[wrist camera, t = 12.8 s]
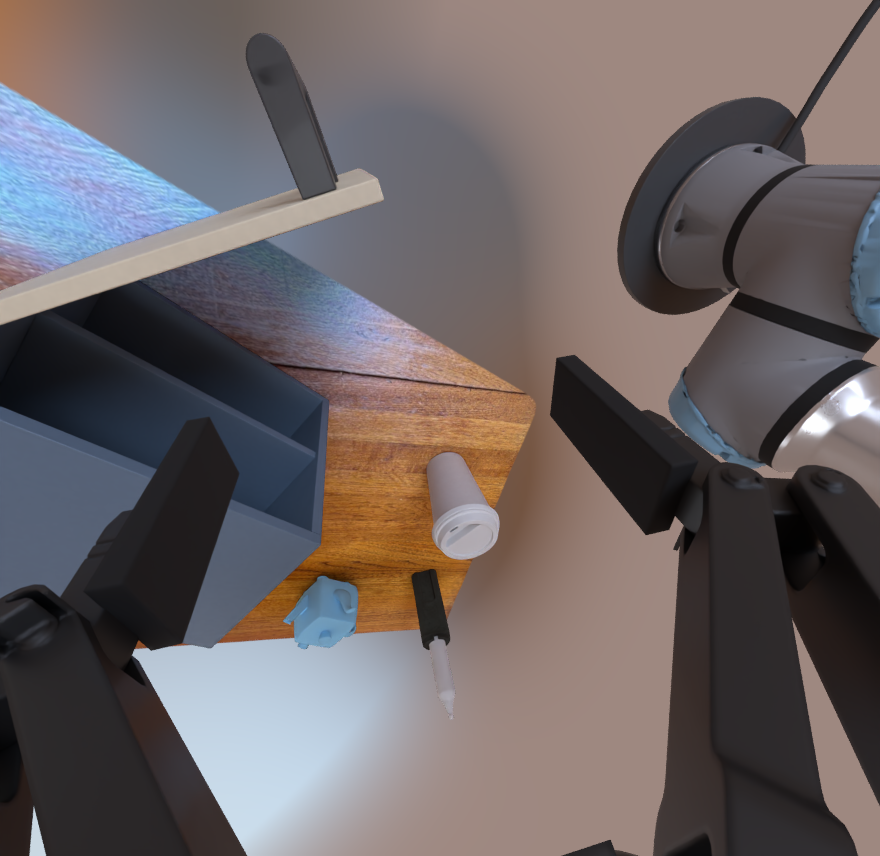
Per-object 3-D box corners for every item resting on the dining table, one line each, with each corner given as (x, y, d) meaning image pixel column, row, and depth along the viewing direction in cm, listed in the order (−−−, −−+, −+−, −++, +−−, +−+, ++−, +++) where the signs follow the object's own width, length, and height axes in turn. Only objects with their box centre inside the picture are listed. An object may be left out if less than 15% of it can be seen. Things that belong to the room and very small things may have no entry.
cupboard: (107, 260, 38) (-137, 367, 18) (329, 400, 51) (321, 544, 32) (37, 386, 43) (-210, 570, 24) (255, 482, 57) (210, 648, 37)
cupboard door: (54, 179, 33) (-322, 208, 15) (335, 90, 34) (325, 3, 15) (114, 260, 38) (-118, 363, 19) (364, 179, 38) (384, 200, 19)
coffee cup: (466, 436, 60) (496, 505, 48) (479, 477, 65) (509, 548, 53) (409, 457, 60) (425, 532, 48) (427, 496, 66) (445, 571, 54)
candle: (413, 587, 80) (436, 729, 60) (410, 573, 77) (434, 718, 57) (437, 582, 81) (467, 720, 61) (435, 568, 78) (467, 709, 58)
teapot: (330, 619, 81) (329, 670, 73) (266, 605, 74) (257, 660, 66) (380, 570, 75) (385, 620, 67) (316, 550, 68) (312, 603, 60)
